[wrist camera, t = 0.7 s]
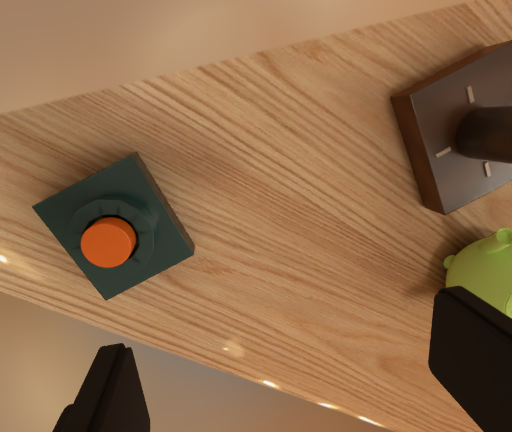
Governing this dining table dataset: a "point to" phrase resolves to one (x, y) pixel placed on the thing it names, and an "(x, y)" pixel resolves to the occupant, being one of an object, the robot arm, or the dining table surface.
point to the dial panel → (454, 127)
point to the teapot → (485, 269)
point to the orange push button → (108, 242)
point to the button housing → (123, 207)
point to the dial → (487, 134)
